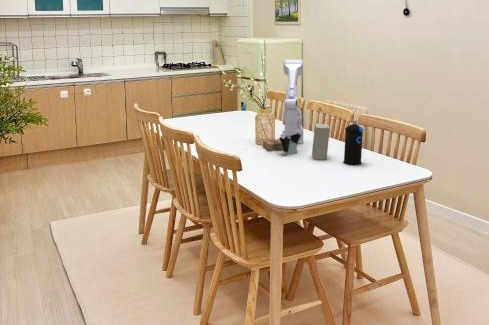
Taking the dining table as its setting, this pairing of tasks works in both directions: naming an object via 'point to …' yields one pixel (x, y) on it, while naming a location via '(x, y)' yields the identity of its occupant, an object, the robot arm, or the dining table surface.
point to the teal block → (291, 148)
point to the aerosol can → (353, 144)
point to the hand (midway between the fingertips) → (290, 150)
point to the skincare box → (320, 141)
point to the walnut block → (273, 145)
